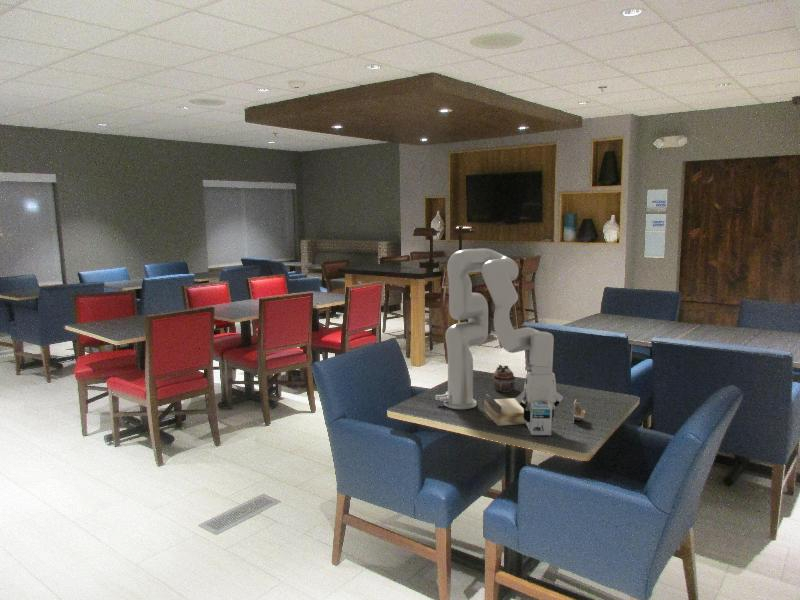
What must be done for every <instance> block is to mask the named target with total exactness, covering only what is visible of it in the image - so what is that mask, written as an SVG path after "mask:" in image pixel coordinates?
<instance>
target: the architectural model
mask: <svg viewBox="0 0 800 600" xmlns="http://www.w3.org/2000/svg"><path fill="white" fill-rule="evenodd" d="M572 411H573V414H572V415H573V416H572V417H573V418H572V423H573V424H574V423H575V421H580V419H583V418H584V417H585V413H586V410H583V409H582V406H581V402H577V399H575V400H574V402H573V410H572Z"/></svg>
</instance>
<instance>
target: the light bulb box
mask: <svg viewBox="0 0 800 600" xmlns="http://www.w3.org/2000/svg"><path fill="white" fill-rule="evenodd" d="M529 411H530V422H527V421H526V424H525V425H526V427H527V428H528V431H529V433H530V435H531V436H552V424H553V422H552V403H551V402H532V403H531V404H530V408H529Z"/></svg>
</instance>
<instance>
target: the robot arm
mask: <svg viewBox="0 0 800 600" xmlns="http://www.w3.org/2000/svg"><path fill="white" fill-rule="evenodd" d="M446 266H447V267H446V271H447V277H448V310H449V315H450V317H451V318H452V319H454V320H458V321H463V320H468V321H464V322H459V323H455V324H452V325H450V326H449V327H448V328H447V329H446V331H445V337H444V338H445V343H446V352H447V391H445V393H443V394H436V395H435V396H434V397H435V401H440V402H443V405H444V406H445V407H447V408H448V409H453V410H468V409H469V410H470V409H473V408H476V407H477V400H476V399H474V398H473V396H474V390H473V388H474V358H473V355H472V353H471V351H470V348H471V347H476V346H479V345H482V344H484V343H485V342H486V340H487V339H488V336H489V304H488V301H487V299H486V297H485V296H484V295H483V294H481V293H480V292H473V291H472V290H473V284H472V280H471V278H470V275H469V273H479V272H481V276H482V278H483V280H484V283H485V285H486V288H487V290H488V292H489V294H490V297H491V299H492V301H493V304H494V312H493V329H494V332H495V334H496V336H497V339H498V342H499V344H500V345H501V347H502V349H504V350H505V351H506V352H508V353H511V354H515V353H518V352H519V353H520V352H524V351H527V350H528V351H529V358H528V359H529V361H528V362H529V363H528V365H526V366H524V370H525V371H528V372H526V376H525V381H524V385H523V391H522V392H521V393H520V394H518V395H517V396H516V397H514V398H515V399H516V401H517V402H518V403H519V404H520V405H521V406H522V407H523V408H524V416H523V417H524V419H525V420H526V421H527V422H530V411H529V408H530V404H531V403H532V402H551V403H552V421H553V420H554V417H555V410H556V407H558V405H559V404H560V402H561V401H562V400H563V399H564V396H563V395H562V394H561V393H559V392H558V391H557V380H556V375H555V373H554V372H553V364H554V363H553V361H554V343H555V341H554V335H553V334H552V333H550V332H548V331H540V330H538V329H535V328H533V327H528V326H527V327H522V328H516V329H514V327H513V325H512V324H513V323H511V319H510V317H511V316H510V311H511V308H512V307H513V305H514V304H515V303H516V302H517V301H518V300H519V295H518V292H517V291H516V288H515V286H514V284H513V282H512V281H514V280H516V279H517V278H518V277H519V273H520V271H519V266H518V265H517V262H516V261H515V260H513V259H512V258H511V257H509V256H507V255H504V254H502V253H500V252H497V251H496V250H493V249H491V248H468V249H465V248H464V249H461V250H458V251H455V252H454V253H453V254H451V255H450V256H449V259H448V261H447V265H446ZM522 400H523V401H524V400H525V401H524V402H525V403H523V402H522Z"/></svg>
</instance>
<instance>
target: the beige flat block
mask: <svg viewBox="0 0 800 600" xmlns="http://www.w3.org/2000/svg"><path fill="white" fill-rule="evenodd" d="M515 398H516V397H512V398H499V399H498V398H497V399H494V398H493V397H492V396H491V395H490V394H488V393H485V394H484V400H483V411H484V413H486V414H487V416H488V417H489V418H490V419H491V420H492V421H493V422H494V423H495V424H496V425H497V426H510V425H511V426H512V425H526V420H525V419H524V417H523V416H524V408H523V407H522V406H521V405H520V404H519V403H518V402H517V401H516V399H515ZM522 402H523V403H525V401H524V399H522Z"/></svg>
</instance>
